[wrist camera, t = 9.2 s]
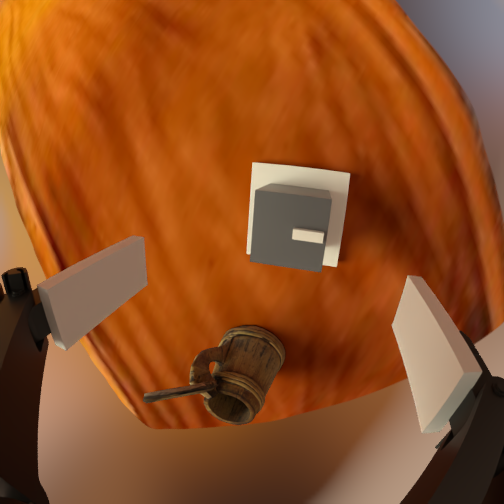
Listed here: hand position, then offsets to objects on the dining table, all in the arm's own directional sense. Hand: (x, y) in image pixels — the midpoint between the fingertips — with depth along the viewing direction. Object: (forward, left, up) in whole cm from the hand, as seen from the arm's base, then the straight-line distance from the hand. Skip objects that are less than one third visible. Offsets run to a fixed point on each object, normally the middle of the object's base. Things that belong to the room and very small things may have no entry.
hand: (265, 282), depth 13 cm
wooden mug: (+18, -5, -19) cm, 26 cm away
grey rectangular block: (0, 0, -17) cm, 17 cm away
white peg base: (0, 0, -18) cm, 18 cm away
